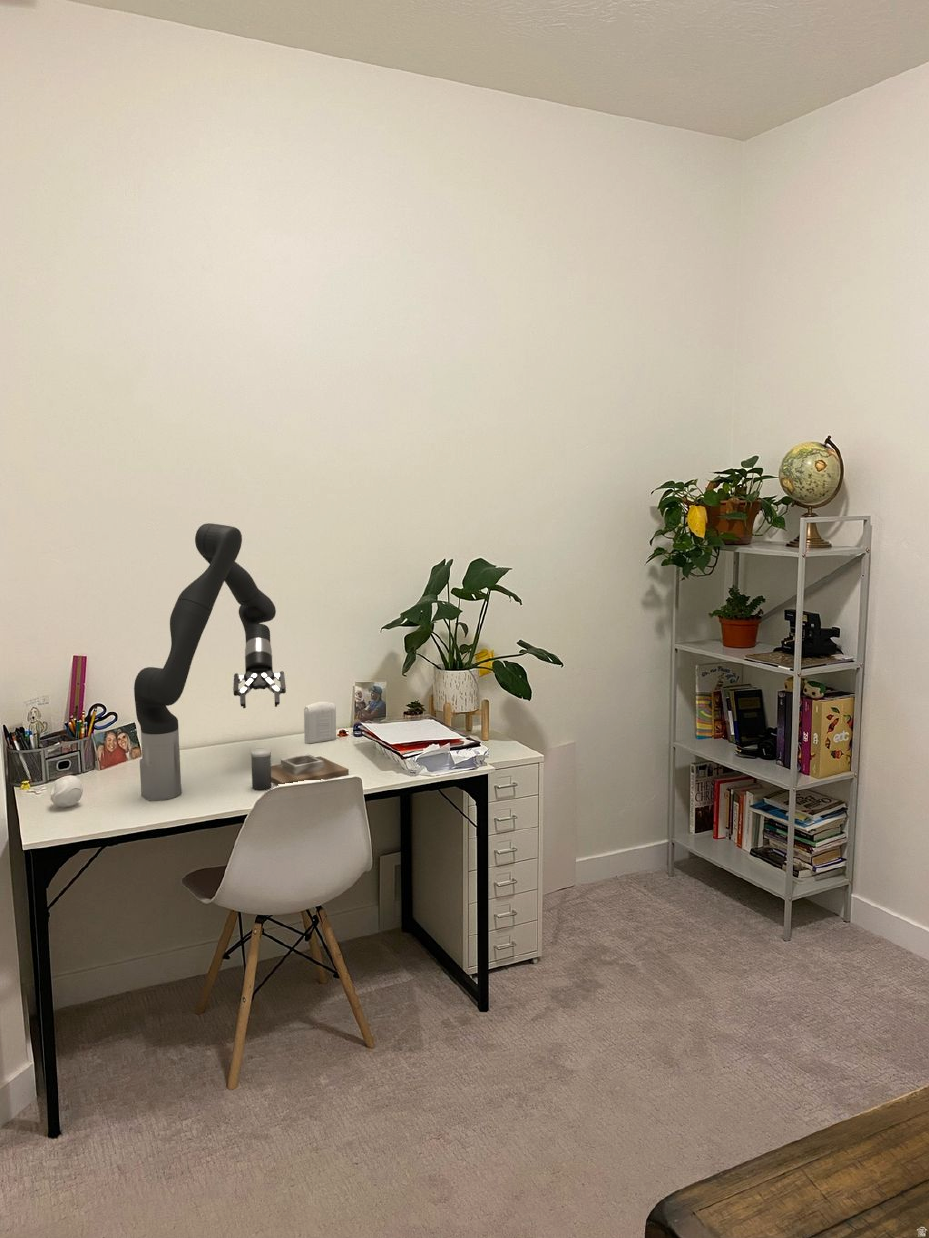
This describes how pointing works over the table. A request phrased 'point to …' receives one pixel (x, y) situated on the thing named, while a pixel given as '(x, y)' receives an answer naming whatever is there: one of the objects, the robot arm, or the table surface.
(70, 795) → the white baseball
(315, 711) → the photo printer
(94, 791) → the table surface
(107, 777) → the table surface
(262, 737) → the table surface
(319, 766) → the mount board
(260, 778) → the dark grey cylinder
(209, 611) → the robot arm
